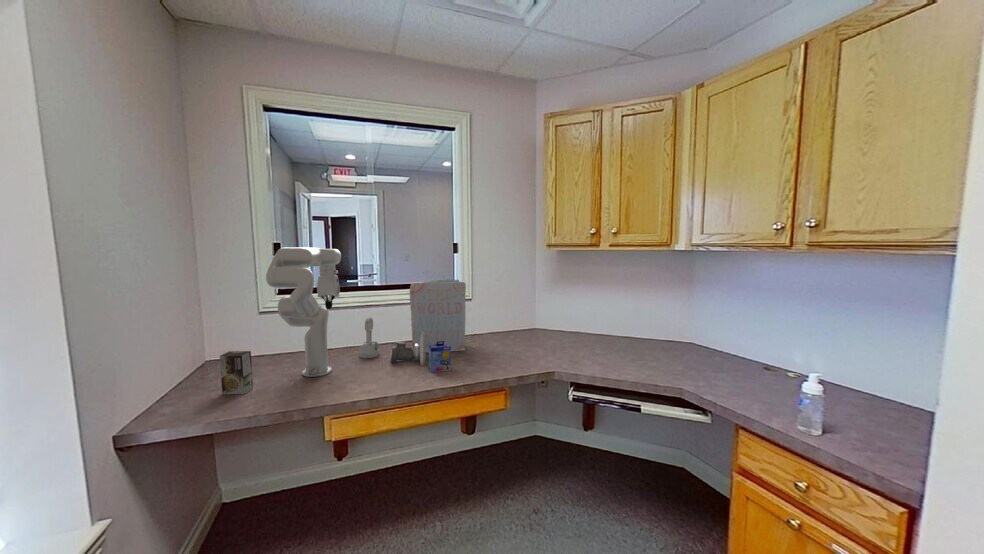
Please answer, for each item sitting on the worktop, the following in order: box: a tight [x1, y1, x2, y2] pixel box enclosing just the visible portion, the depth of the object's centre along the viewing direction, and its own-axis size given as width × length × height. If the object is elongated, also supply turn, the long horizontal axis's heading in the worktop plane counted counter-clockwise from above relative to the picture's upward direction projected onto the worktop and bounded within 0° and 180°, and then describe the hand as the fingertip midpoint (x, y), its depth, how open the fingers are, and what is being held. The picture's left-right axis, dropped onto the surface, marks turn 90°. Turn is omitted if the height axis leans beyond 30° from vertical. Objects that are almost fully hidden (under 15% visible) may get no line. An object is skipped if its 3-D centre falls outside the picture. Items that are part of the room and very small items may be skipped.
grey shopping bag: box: [409, 279, 467, 353], centre depth 222 cm, size 17×31×40 cm, turn 101°
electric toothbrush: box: [358, 316, 380, 359], centre depth 208 cm, size 11×20×10 cm
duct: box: [413, 331, 427, 366], centre depth 199 cm, size 14×5×14 cm, turn 5°
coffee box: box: [218, 350, 254, 395], centre depth 157 cm, size 9×6×16 cm
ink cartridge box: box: [428, 341, 452, 373], centre depth 185 cm, size 10×6×14 cm, turn 111°
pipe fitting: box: [389, 341, 414, 363], centre depth 198 cm, size 12×8×10 cm, turn 103°
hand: (328, 308), depth 199 cm, fingers closed
